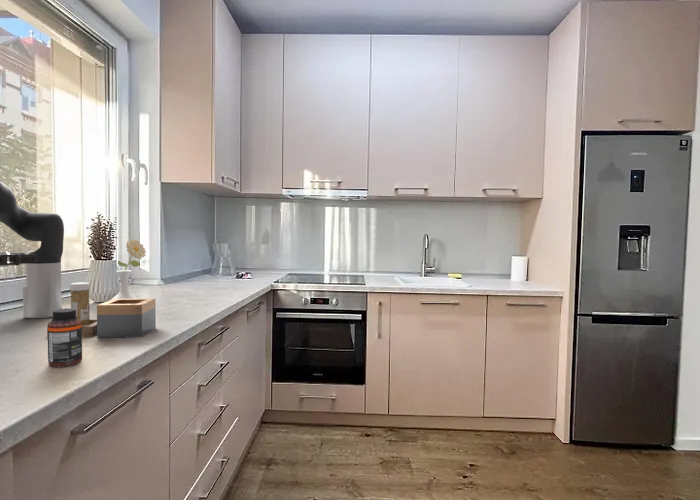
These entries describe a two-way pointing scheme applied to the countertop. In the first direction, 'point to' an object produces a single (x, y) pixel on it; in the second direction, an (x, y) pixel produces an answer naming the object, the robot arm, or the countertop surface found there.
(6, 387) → the countertop surface
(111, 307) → the grey wooden square box
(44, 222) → the robot arm
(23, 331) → the countertop surface
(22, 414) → the countertop surface
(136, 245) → the flower in vase
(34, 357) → the countertop surface
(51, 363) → the supplement bottle
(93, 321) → the walnut stand
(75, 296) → the seasoning jar
